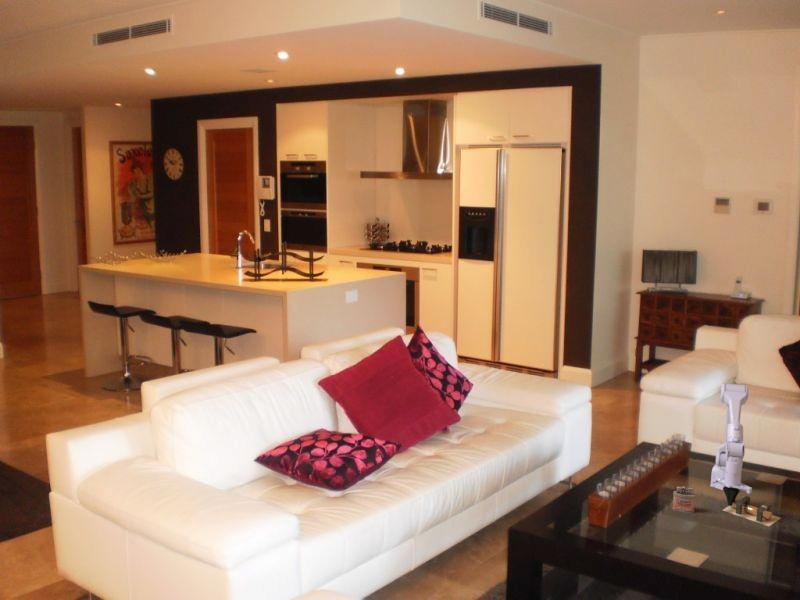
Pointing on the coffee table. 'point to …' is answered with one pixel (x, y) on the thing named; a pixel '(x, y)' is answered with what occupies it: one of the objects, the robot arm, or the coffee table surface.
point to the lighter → (684, 500)
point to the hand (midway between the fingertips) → (730, 504)
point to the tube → (753, 510)
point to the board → (757, 518)
